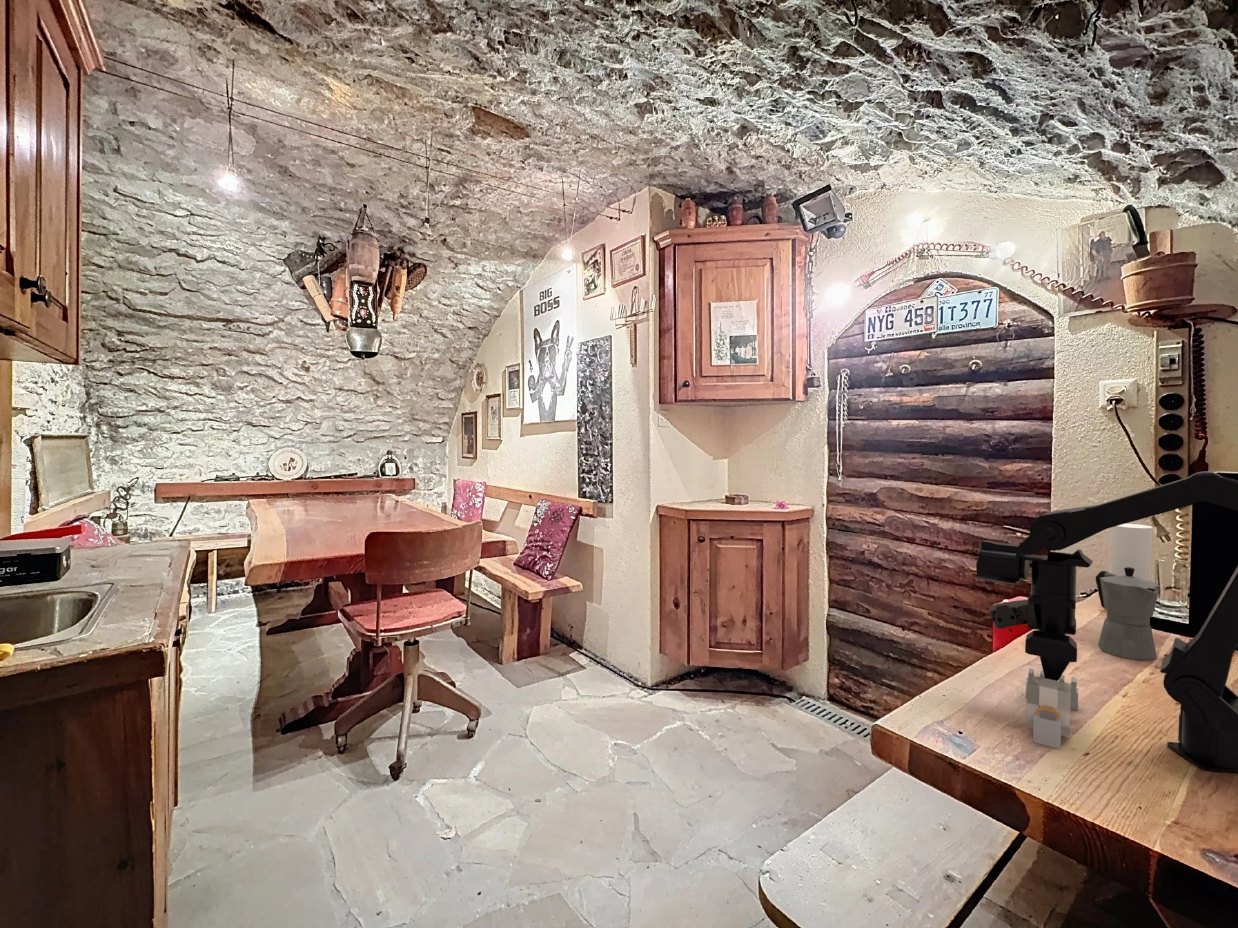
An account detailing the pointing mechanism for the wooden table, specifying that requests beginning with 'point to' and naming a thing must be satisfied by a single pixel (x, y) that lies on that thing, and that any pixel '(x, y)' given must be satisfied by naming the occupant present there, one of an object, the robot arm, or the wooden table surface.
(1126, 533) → the cylindrical container
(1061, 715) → the sleeve
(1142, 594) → the coffeepot
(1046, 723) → the cord rig
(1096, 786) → the wooden table surface
